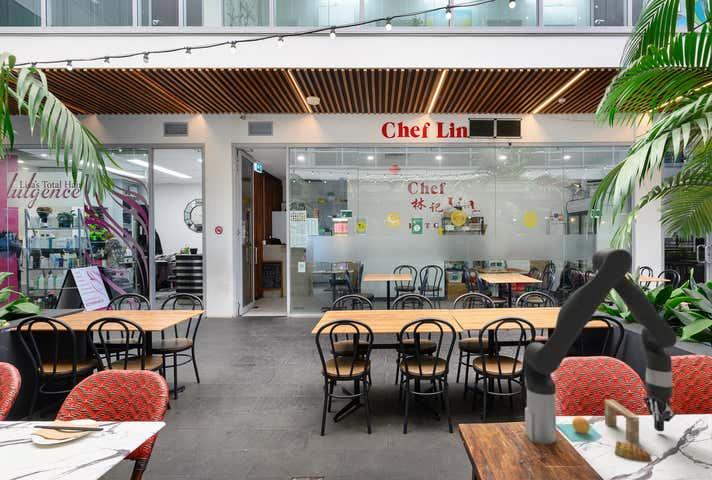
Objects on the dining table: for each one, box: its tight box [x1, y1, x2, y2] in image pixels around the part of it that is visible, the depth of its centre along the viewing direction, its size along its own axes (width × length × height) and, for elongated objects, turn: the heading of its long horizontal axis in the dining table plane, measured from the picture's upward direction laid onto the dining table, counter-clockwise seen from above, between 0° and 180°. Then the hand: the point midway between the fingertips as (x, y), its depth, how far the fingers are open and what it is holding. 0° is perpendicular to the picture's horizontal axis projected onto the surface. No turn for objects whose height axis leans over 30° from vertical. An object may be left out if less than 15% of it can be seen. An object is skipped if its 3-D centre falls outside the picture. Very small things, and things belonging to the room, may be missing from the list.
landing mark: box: [556, 423, 603, 442], centre depth 140 cm, size 12×12×1 cm
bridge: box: [604, 399, 640, 444], centre depth 139 cm, size 3×14×9 cm, turn 177°
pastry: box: [613, 440, 652, 462], centre depth 124 cm, size 9×7×4 cm
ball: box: [571, 416, 591, 434], centre depth 140 cm, size 6×6×6 cm
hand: (659, 430), depth 138 cm, fingers closed
